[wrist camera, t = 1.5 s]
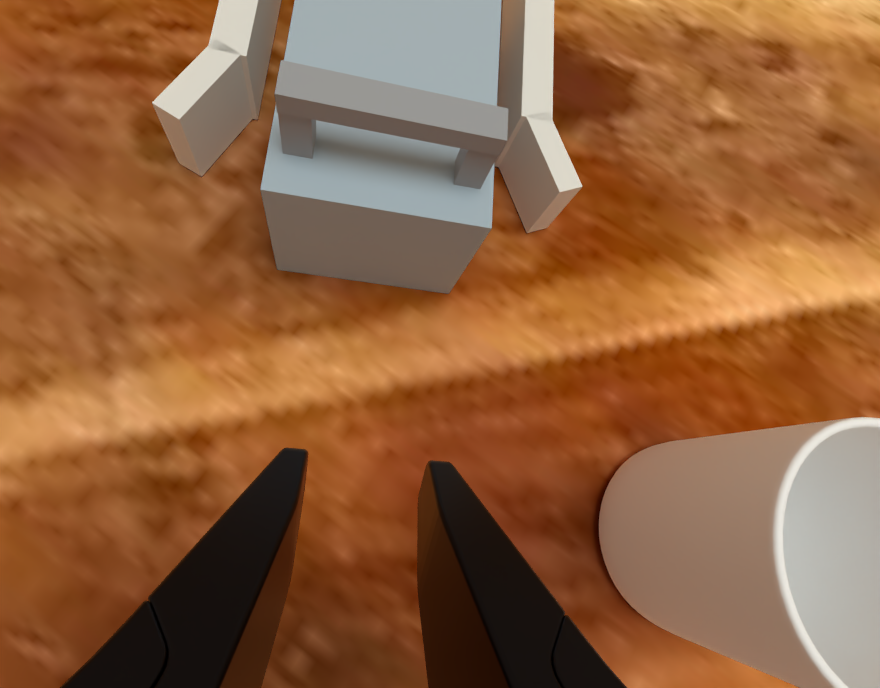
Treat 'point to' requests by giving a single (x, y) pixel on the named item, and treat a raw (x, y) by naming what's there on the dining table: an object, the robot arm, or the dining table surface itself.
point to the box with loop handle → (385, 140)
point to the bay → (244, 74)
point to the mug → (757, 547)
